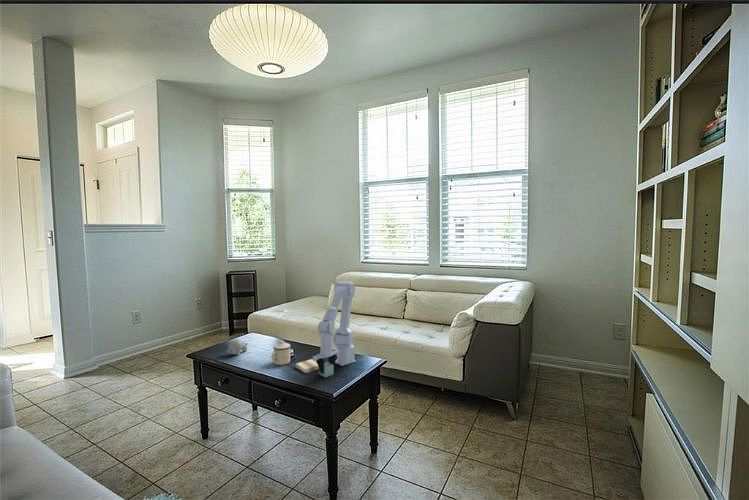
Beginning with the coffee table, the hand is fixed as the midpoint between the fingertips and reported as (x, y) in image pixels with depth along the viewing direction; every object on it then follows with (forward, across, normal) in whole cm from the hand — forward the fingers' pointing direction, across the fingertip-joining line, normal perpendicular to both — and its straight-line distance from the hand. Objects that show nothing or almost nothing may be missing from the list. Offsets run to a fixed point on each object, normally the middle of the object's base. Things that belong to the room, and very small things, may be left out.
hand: (326, 371), depth 176 cm
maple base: (+1, +2, -13) cm, 13 cm away
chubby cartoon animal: (+2, +21, -58) cm, 62 cm away
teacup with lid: (+2, +10, -29) cm, 31 cm away
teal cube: (+1, 0, 0) cm, 1 cm away
